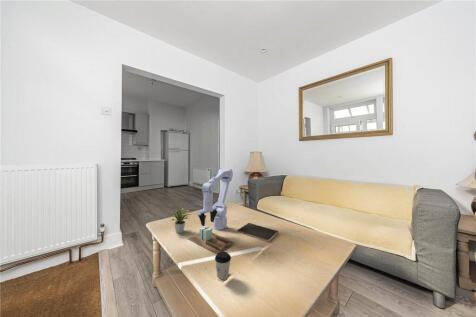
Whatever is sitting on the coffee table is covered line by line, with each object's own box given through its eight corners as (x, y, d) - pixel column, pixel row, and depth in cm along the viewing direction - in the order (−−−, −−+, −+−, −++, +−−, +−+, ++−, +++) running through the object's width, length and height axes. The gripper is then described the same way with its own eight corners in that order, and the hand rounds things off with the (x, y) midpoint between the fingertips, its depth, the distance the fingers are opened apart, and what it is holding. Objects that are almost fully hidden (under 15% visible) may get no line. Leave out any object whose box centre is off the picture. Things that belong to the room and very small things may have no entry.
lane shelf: (207, 231, 116) (207, 228, 116) (235, 244, 100) (235, 240, 100) (187, 240, 103) (187, 236, 103) (216, 256, 88) (216, 251, 88)
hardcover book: (268, 243, 103) (268, 239, 103) (237, 233, 116) (237, 229, 116) (277, 233, 116) (277, 230, 116) (249, 225, 129) (249, 222, 129)
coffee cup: (230, 272, 76) (231, 250, 76) (230, 283, 69) (231, 259, 69) (215, 272, 76) (215, 250, 76) (213, 283, 69) (214, 259, 69)
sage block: (205, 235, 109) (205, 224, 109) (212, 238, 105) (212, 227, 105) (199, 238, 105) (199, 227, 104) (205, 241, 101) (205, 230, 101)
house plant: (174, 239, 104) (175, 213, 104) (163, 233, 113) (163, 208, 112) (193, 231, 116) (194, 207, 115) (181, 226, 124) (182, 204, 124)
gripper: (203, 205, 98) (202, 229, 98) (220, 201, 110) (220, 221, 110) (195, 203, 103) (195, 225, 103) (213, 199, 114) (212, 219, 114)
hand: (207, 223), depth 107 cm, fingers open, 7 cm apart
